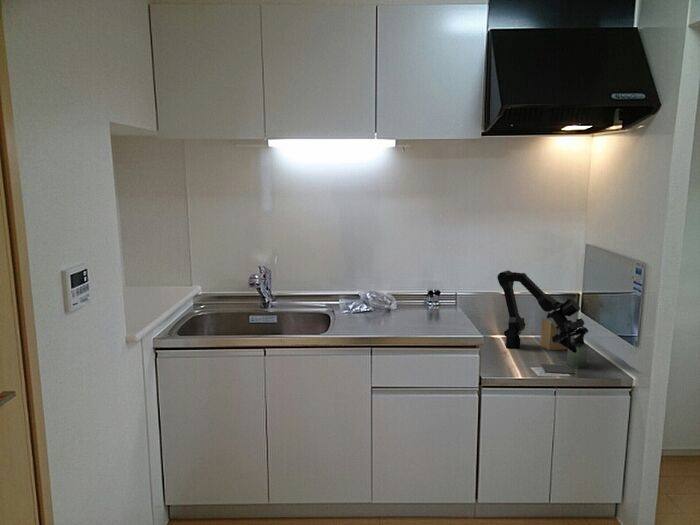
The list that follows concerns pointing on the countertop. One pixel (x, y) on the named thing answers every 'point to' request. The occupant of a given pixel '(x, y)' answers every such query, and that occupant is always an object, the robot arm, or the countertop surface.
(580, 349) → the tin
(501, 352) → the countertop surface
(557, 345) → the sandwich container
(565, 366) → the mat
